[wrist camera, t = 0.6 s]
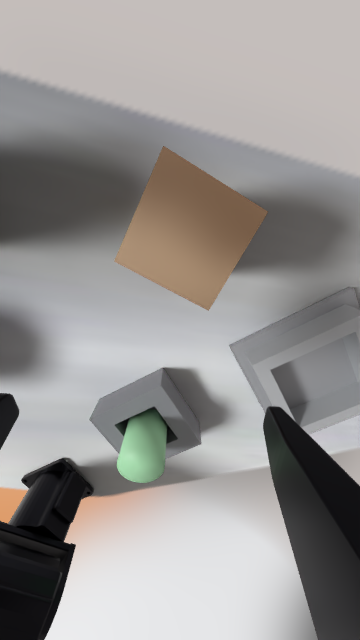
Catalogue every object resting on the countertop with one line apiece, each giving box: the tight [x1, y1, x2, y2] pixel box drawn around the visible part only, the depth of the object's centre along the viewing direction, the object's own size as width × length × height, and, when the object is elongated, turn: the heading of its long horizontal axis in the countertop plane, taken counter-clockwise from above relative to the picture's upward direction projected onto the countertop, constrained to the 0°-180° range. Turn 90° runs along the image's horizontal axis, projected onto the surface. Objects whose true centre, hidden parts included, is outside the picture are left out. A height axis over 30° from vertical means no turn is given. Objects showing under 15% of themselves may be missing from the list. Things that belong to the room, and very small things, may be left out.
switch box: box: [89, 368, 201, 459], centre depth 24 cm, size 8×8×3 cm
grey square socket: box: [229, 287, 360, 435], centre depth 22 cm, size 12×12×3 cm
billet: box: [115, 146, 268, 311], centre depth 14 cm, size 4×4×11 cm
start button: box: [117, 409, 167, 483], centre depth 22 cm, size 4×4×5 cm
